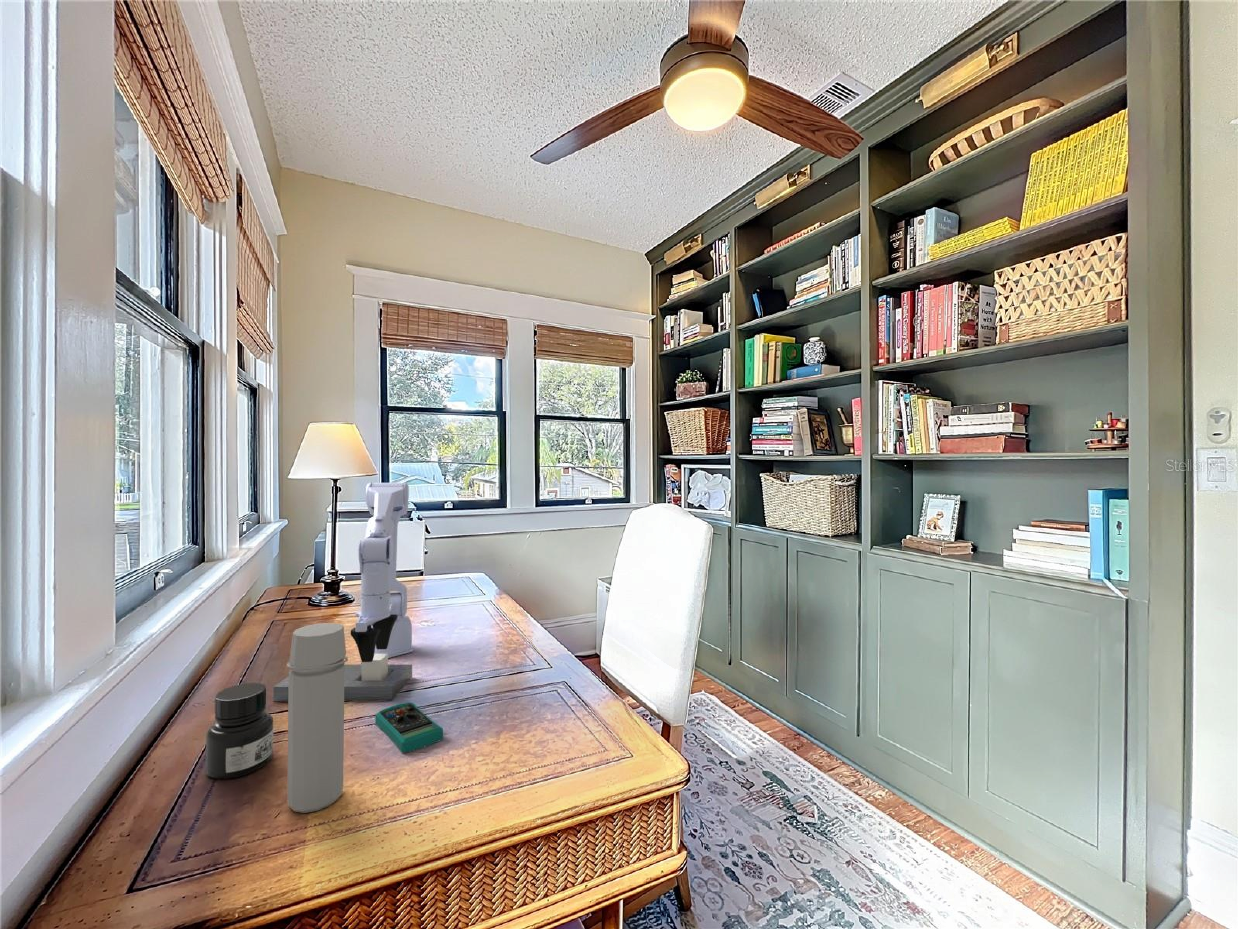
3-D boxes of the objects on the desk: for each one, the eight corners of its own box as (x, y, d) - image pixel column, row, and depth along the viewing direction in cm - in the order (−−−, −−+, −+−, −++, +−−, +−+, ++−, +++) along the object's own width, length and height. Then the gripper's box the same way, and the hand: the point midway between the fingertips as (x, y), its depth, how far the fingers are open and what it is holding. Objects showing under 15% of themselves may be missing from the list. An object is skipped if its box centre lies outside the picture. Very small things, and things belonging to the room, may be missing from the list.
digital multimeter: (412, 713, 106) (412, 698, 106) (444, 742, 95) (444, 726, 95) (373, 725, 101) (373, 709, 101) (403, 757, 90) (403, 740, 90)
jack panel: (412, 677, 122) (412, 664, 122) (391, 700, 110) (392, 686, 110) (305, 677, 121) (305, 664, 121) (273, 701, 109) (273, 686, 109)
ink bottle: (237, 785, 81) (238, 707, 81) (188, 779, 83) (189, 702, 83) (287, 751, 91) (288, 681, 91) (242, 746, 92) (243, 677, 92)
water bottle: (332, 815, 75) (334, 637, 74) (273, 818, 74) (275, 638, 74) (359, 776, 84) (360, 618, 84) (307, 778, 83) (308, 618, 83)
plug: (387, 685, 118) (388, 653, 118) (380, 692, 114) (380, 660, 114) (366, 685, 118) (366, 653, 118) (358, 692, 114) (358, 660, 114)
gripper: (371, 585, 123) (370, 643, 123) (340, 601, 109) (339, 667, 108) (402, 585, 123) (401, 643, 123) (375, 601, 109) (375, 667, 109)
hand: (374, 655), depth 116 cm, fingers open, 7 cm apart
